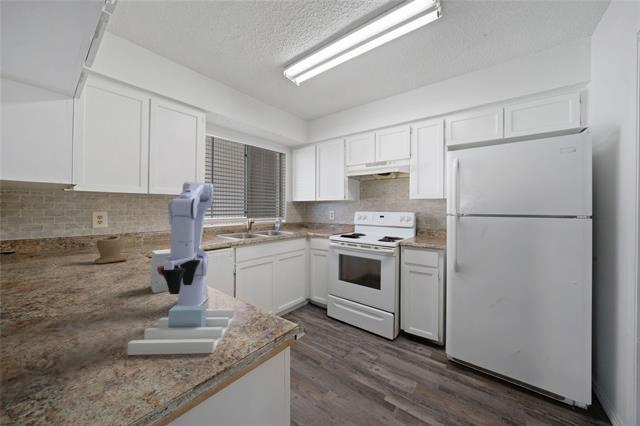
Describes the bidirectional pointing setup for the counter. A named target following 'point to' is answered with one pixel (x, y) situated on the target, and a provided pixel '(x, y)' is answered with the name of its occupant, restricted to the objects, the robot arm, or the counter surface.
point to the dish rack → (184, 336)
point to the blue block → (187, 316)
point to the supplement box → (158, 270)
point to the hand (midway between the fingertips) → (181, 289)
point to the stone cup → (110, 250)
